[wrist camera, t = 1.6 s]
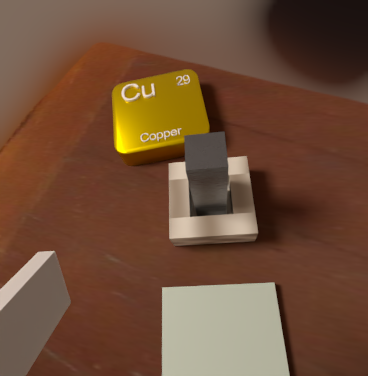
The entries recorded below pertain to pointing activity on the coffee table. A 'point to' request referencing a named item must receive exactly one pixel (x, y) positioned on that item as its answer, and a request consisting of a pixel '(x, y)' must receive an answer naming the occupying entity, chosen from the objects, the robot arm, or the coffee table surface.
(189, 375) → the plate
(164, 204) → the coffee table surface
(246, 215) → the socket block
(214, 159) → the peg
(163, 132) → the element tile
